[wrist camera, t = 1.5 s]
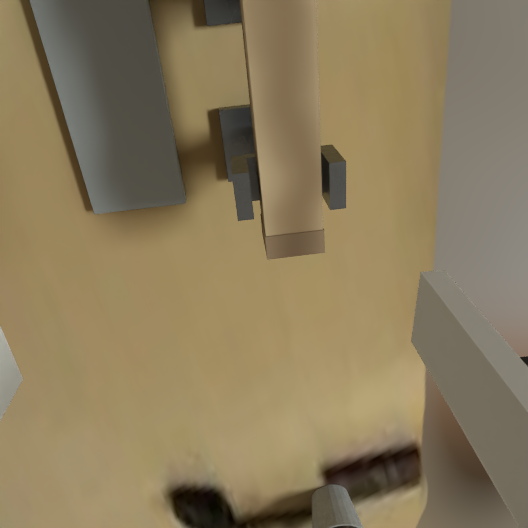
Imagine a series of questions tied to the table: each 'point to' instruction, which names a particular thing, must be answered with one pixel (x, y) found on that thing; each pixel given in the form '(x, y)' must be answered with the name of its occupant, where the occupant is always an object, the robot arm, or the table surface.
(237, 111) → the post far
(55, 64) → the mat
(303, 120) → the rail
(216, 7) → the post near
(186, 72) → the table surface
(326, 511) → the house plant
